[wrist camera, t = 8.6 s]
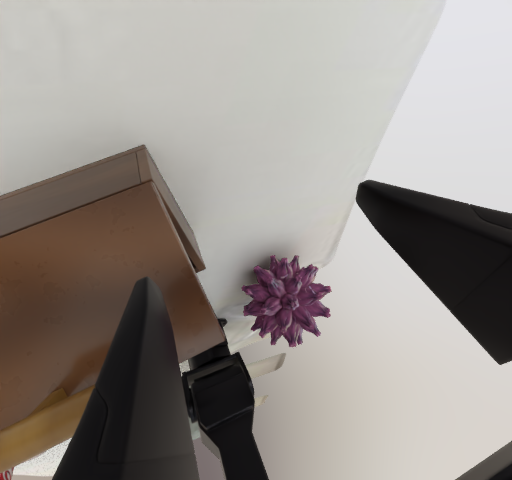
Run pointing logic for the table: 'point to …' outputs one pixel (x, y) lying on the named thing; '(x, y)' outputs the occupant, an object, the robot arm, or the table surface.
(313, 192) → the table surface
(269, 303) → the purple spiky ball
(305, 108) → the table surface
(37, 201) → the box
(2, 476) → the soda can
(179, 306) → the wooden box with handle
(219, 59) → the table surface
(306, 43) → the table surface
